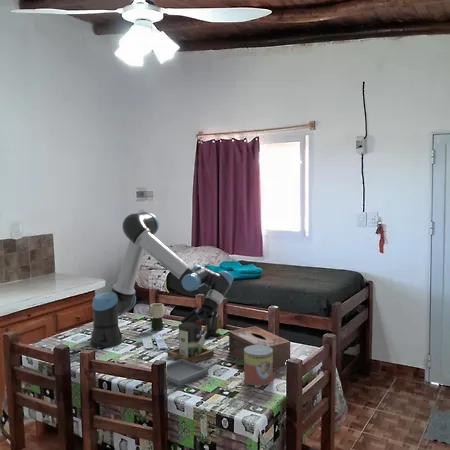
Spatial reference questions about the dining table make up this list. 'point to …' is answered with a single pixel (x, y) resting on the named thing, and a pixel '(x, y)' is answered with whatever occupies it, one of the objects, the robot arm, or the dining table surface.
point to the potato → (211, 324)
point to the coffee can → (190, 339)
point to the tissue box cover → (259, 343)
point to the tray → (184, 372)
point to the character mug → (157, 315)
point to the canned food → (258, 365)
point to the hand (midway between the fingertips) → (189, 342)
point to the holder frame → (205, 354)
